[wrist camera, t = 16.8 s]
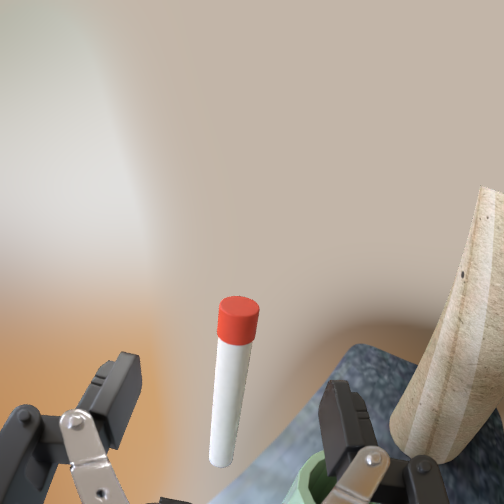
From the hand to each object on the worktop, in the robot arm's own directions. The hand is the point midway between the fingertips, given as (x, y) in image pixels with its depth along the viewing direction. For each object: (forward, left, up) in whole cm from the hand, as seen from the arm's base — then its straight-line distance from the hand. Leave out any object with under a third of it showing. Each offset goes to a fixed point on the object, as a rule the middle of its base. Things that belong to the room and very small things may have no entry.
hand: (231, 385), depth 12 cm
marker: (+1, -6, -15) cm, 16 cm away
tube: (-20, -13, -16) cm, 28 cm away
